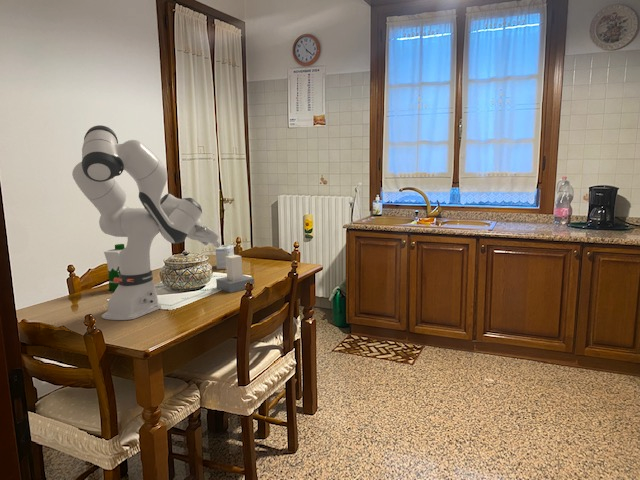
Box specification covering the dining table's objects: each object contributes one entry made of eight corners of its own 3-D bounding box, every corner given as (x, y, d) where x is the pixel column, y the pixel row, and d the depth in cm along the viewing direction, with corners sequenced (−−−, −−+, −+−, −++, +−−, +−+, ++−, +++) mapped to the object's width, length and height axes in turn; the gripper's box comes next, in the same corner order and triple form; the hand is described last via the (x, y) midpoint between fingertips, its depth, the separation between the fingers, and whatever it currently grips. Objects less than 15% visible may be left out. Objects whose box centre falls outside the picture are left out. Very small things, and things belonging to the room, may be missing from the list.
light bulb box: (223, 264, 269) (221, 244, 268) (235, 264, 268) (233, 244, 267) (216, 269, 259) (214, 248, 257) (228, 269, 258) (227, 248, 256)
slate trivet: (230, 292, 212) (230, 283, 212) (216, 287, 221) (216, 279, 221) (254, 287, 220) (254, 278, 219) (240, 282, 229) (239, 274, 228)
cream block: (232, 280, 216) (231, 258, 215) (227, 278, 220) (225, 256, 219) (242, 278, 220) (241, 256, 218) (237, 276, 223) (235, 254, 222)
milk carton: (135, 287, 228) (131, 244, 225) (121, 292, 220) (116, 247, 216) (120, 286, 231) (115, 243, 228) (105, 291, 223) (100, 247, 219)
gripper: (207, 220, 198) (230, 241, 206) (182, 217, 213) (204, 237, 221) (198, 233, 196) (221, 253, 204) (173, 229, 211) (196, 248, 219)
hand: (212, 245), depth 213 cm, fingers open, 8 cm apart
